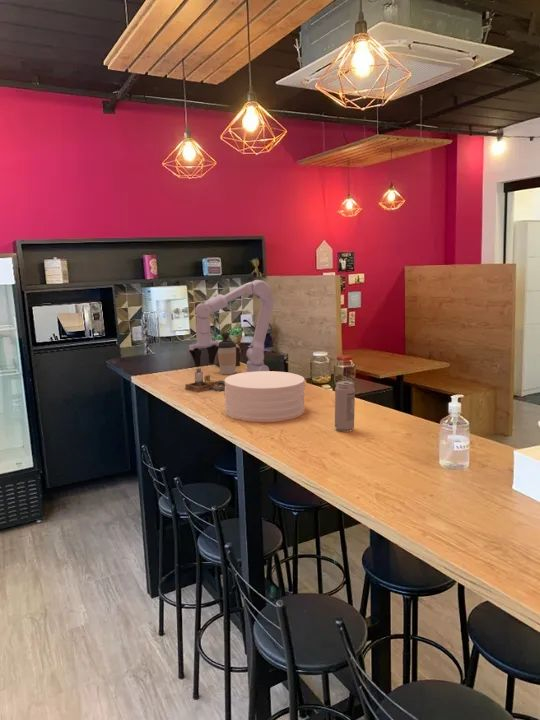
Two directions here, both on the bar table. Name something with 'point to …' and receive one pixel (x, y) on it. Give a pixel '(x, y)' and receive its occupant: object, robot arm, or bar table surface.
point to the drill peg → (198, 377)
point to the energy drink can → (344, 406)
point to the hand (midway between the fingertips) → (204, 364)
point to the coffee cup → (227, 357)
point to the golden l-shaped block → (207, 380)
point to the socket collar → (219, 387)
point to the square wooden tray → (198, 387)
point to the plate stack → (264, 396)
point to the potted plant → (226, 337)
